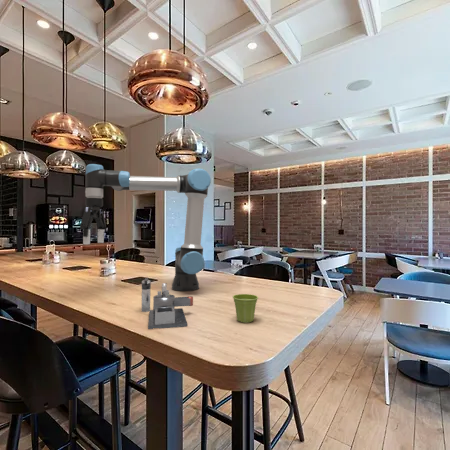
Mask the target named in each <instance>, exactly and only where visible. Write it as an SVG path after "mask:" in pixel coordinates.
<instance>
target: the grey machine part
mask: <svg viewBox="0 0 450 450" xmlns="http://www.w3.org/2000/svg"><path fill="white" fill-rule="evenodd" d="M167 285H168V284H167V282H164V283H163V282H162V283H161V290H158V291H157V294H156V295H154V296H153V301H152V302H153V304H152V310H153V313H154V314H155V308H160V307H174V310H175V309H176V308H175V307H177V308H178V307H193V306H194V296H192V295H190V296H177V297H176V296H175V295H174V294H171V293H170V289H168V287H167Z"/></svg>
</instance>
